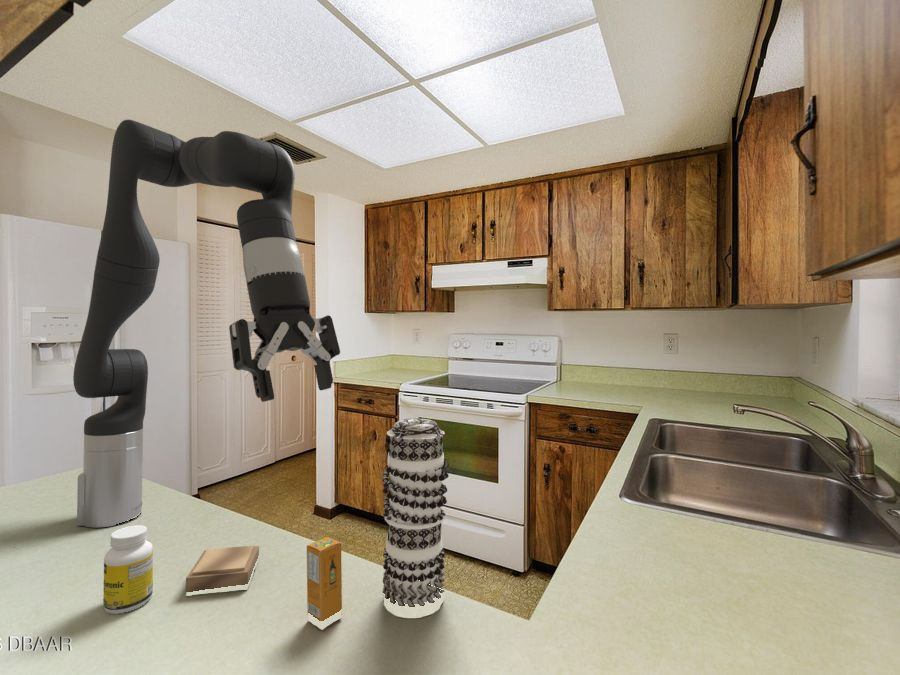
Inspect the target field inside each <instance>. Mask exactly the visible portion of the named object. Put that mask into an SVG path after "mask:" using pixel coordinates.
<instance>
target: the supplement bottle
mask: <svg viewBox="0 0 900 675" xmlns="http://www.w3.org/2000/svg"><path fill="white" fill-rule="evenodd" d="M147 539H148V528H147V526H145V525H141V524H140V525H139V524H138V525H136V524H135V525H129V526H124V527H121V528H119V529H117V530H115V531H114V532H112V533H111V534H110V547H111V548H110V549H109V550H108V551H106V553H105V554H104V557H103V600H102V601H103V609H104V611H105V612H106V613H108V614H113V615H117V614H118V613H122V614H125V613H124V612H127V613H129V612H128V611H130V612H132V611H131V610H133V609H135V610H137V609H139V608H141V607H143V606H144V605H146V604H147V603H148V602H149V601H150V600H151V599H152V596H153V591H154V590H153V589H154V588H153V587H154V586H153V585H154V583H153V582H154V577H153V576H154V546H153V544H152V542H150V541H148V540H147ZM150 598H151V599H150ZM149 599H150V600H149ZM147 601H148V602H147ZM146 602H147V603H146ZM145 603H146V604H145ZM142 605H143V606H142ZM140 606H141V607H140ZM138 607H139V608H138ZM136 608H137V609H136ZM133 611H134V610H133ZM118 615H119V614H118Z"/></svg>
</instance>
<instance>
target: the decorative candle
mask: <svg viewBox="0 0 900 675" xmlns="http://www.w3.org/2000/svg"><path fill="white" fill-rule="evenodd" d="M445 434H446V433H445V431H444V430H442V429H440V427H439V425H438V423H437V422H436V421H435V420H431V419H427V418H418V417H417V418H413V417H412V418H405V419H400V420H398V421H396V422H395V423H394V425H393V426H392V428H391V429H389V430H388V431H386V435H387V436H388V437H389V440H388V447H389V448H388V453H387V465H385V466H384V472H383V475H382V476H383V477H382V482H383V486H382V487H383V488H382V493H384V496H385V497H384V499H383V501H384V502H383V505H382V506H383V512H384V513H383V517H384V521H385V522H386V523H387V535H386V541H385V548H384V552H383V558H384V560H383V562H384V563H383V566H382V567H383V569H384V572H383V577H382V584H383V588H382V594H383V593H384V594H385V598H386V599H389V598H390V602H391V603H393V604H395V603H396V601H397V602H398V605H399V606H405V604H408V606H409V607H415V605H414V604H419V605H420V606H424V605H425V603H424V602H427V601H428V602H429V603H434V602H435V601H434V600H433V598H435V597H436V598H438V599H439V598H441V595H440V594H439V592H440V593H443V592H444V593H445V589H444V588H443V587H444V586H445V585H444V582H445V577H443V576H444V575H445V573H444V571H443V570H444V569H445V564H444V563H445V561H444V560H445V556H446V553H445V548H444V547H443V535H442V522H443V521H444V520H445V519H446V513H445V510H444V509H442V507H443V506H445V505H446V504H447V503H448V500H447V497H446V496H444V495H445V494H446V493H447V492H448V487H447V486H446V485H445V484H444V483H442V482H444V481H445V480H446V479H448V478H449V473H448V472H447V471H446V470H445V469H446V468H448V467H450V462H448V460H447V459H445V455H444V454H445V453H444V449H443V448H444V435H445ZM419 580H420V581H419ZM429 584H430V585H429ZM431 585H433V586H431ZM434 586H435V587H434ZM437 587H438V588H437ZM439 588H441V589H444V590H441V589H439ZM440 590H441V591H440ZM395 600H396V601H395ZM404 603H405V604H404Z"/></svg>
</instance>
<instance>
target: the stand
mask: <svg viewBox="0 0 900 675" xmlns="http://www.w3.org/2000/svg"><path fill="white" fill-rule="evenodd" d="M258 556H259V557H260V545H245V546H231V547H221V548H210V549H209V548H208V549H206V550H203V552H202V553H201V555H200V557H199V558H198V560H197V561H196V562H195V563H194V566H193V567H192V569H191V570H190V572H188V574H187V576H186V577H185V593H186V592H193V591H199V590H205V589H214V588H221V587H228V586H236V585H245V584H248V582H249V580H250V577H251V574H252V571H253V568H254V566H255V563H256V561H257V559H258Z"/></svg>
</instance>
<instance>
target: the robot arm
mask: <svg viewBox="0 0 900 675" xmlns="http://www.w3.org/2000/svg"><path fill="white" fill-rule="evenodd" d="M113 136H114V137H113V142H112V147H111V154H110V155H111V157H110V164H109V166H110V167H109V179H108V191H107V201H106V208H105V215H104V220H103V226H102V231H101V236H100V241H99V246H98V251H97V255H96V261H95V267H94V271H93V272H94V273H93V279H92V286H91V288H92V290H91V295H90V302H89V303H90V304H89V307H88V313H87V318H86V322H85V326H84V330H83V333H82V336H81V341H80V343H79V347H78V351H77V355H76V359H75V363H74V366H73V367H74V368H73V374H72V375H73V388H74V391H75V393H76V394H77V395H78V396H80V397H81V398H84V399H85V398H86V399H98V398H108V397H109V398H110V397H117V399H116V401H115V402H114V403H113V404H112V405H110V406H109V407H107V408H105V409H104V410H102V411H100V412H98V413H94V414H92V415H90V416H89V417H87V418H86V419H85V420H84V423H83V471H82V473H79V474H78V475H77V491H76V492H77V494H76V495H77V497H76V498H77V501H76V502H77V503H76V504H77V505H76V506H77V507H76V508H77V509H76V527H81V526H82V527H87V528H106V527H113V526H117V525H116V524H118V525H120V524H119V523H122V522H124V521H127V520H129V519H131V518H133V517H135V516H137V515H138V514H139V513H140V512H141V510H143V464H144V463H143V458H144V457H143V456H144V455H143V454H144V453H143V450H144V449H143V448H144V442H143V441H144V419H145V415H146V408H147V406H146V405H147V391H148V390H147V389H148V381H149V378H148V377H149V368H148V366H149V365H148V361H147V358H146V356H145V354H144V352H142V351H141V350H139V349H134V348H117V349H116V348H112V349H110V346H111V344H112V341H113V339H114V337H115V335H116V333H117V332H118V330H119V329H120V327H121V326H122V325H123V324H124V323H125V322H126V321H127V320H128V319H129V318H130V317H131V316H132V315H133V314H135V312H136V311H137V310H139V309H140V308H141V307H142V306H143V305H144V304H145V302H147V301H148V299H149V298H150V297H151V296H152V293H153V291H154V289H155V286H156V281H157V278H158V277H157V276H158V273H159V272H158V271H159V267H160V262H161V261H160V253H159V251H158V247H157V244H156V242H155V241H154V238H153V237H152V235H151V233H150V230H149V228H148V227H147V225H146V223H145V220H144V219H143V216H142V213H141V210H140V206H139V201H138V182H139V181H138V180H140V181H141V180H142V181H145V182H148V183H152V184H155V185H159V186H162V187H166V188H179V187H180V188H181V187H184V186H185V187H186V186H190V185H194V184H201V185H206V186H207V185H209V186H213V187H222V188H231V187H234V188H237V189H242V190H247V191H251V192H254V193H258V194H261V196H262V198H260V199H259V198H257V199H252V200H249V201H245V202H244V203H242V204H240V206H239V207H238V209H237V211H236V222H237V227H238V232H239V238H240V242H241V249H242V266H243V270H244V271H243V272H244V277H245V282H246V288H247V294H248V298H249V304H250V309H251V310H250V311H251V313H252V316H253V321H247V320H246V319H244V318H241V319H238V320H236V321H234V322H233V323H231V324H230V325H229V327H228V330H229V337H230V345H231V347H230V348H231V354H232V362H233V364H232V365H233V368H234V369H235V370H236V371H241V370H242V371H246V372H249V373H250V374H251V377H252V382H253V385H254V386H253V387H254V392H255V396H256V398H257V399H259V398H260V401H261V402H262V403H264V402H269V401H272V400H274V399H275V393H274V388H273V382H272V377H271V371H270V369H268V370H267V367H268V366H269V365H270V361H271V359H272V357H273V356H274V355H275V354H278V353H282V352H284V351H289V352H295V351H301V353H303V355H306V356H308V357H309V358H310V359H311V360H312V361H313V362H314V372H315V377H316V382H317V387H318V390H320V391H325V390H329V389H331V388H332V385H333V384H334V378H333V373H332V372H333V371H332V368H331V360H332V359H333V358H335V357H337V356H340V354H341V349H340V345H339V341H338V337H337V333H336V330H335V326H334V321H333V318H332V317H331V316H330V315H329V314H328V315H325V316H323V317H320V318H314V317H313V315H311V311H310V310H311V301H310V296H309V291H308V285H307V280H306V276H305V270H304V266H303V260H302V256H301V253H300V251H299V247H298V244H297V240H296V234H295V228H294V224H293V220H292V214H293V213H292V211H293V198H294V186H295V179H296V178H295V176H296V172H295V165H294V162H293V161H292V158H291V156H290V155H289V153H288V152H287V151H286V150H285V149H284V148H283V147H281V146H279V145H278V144H274V143H272V142H268V141H265V140H262V139H259V138H257V137H254V136H251V135H247V134H244V133H241V132H237V131H232V130H224V131H221V132H219V133H217V134H215V135H214V136H197V137H196V136H195V137H193V138H190V139H188V140H187V141H184V140H182V139H180V138H179V137H177V136H175V135H174V134H170V133H168V132H166V131H163V130H160V129H158V128H155V127H152V126H150V125H147V124H144V123H141V122H139V121H136V120H133V119H124V120H122V121H121V122H120V123H119V125H118V126H117V128H116V130H115V132H114V135H113ZM313 331H315V333H318V337H319V338H318V337H317V336H316V335H315V334H314V333H313ZM253 333H254V334H255V335H256V336H257V337H258V338H259V339H260V340H261V341H260V343H259V344H258V347H257V349H256V350H255V352H254V356H253V358H252V348H251V342H250V337H252V336H253ZM122 524H123V523H122Z"/></svg>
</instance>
